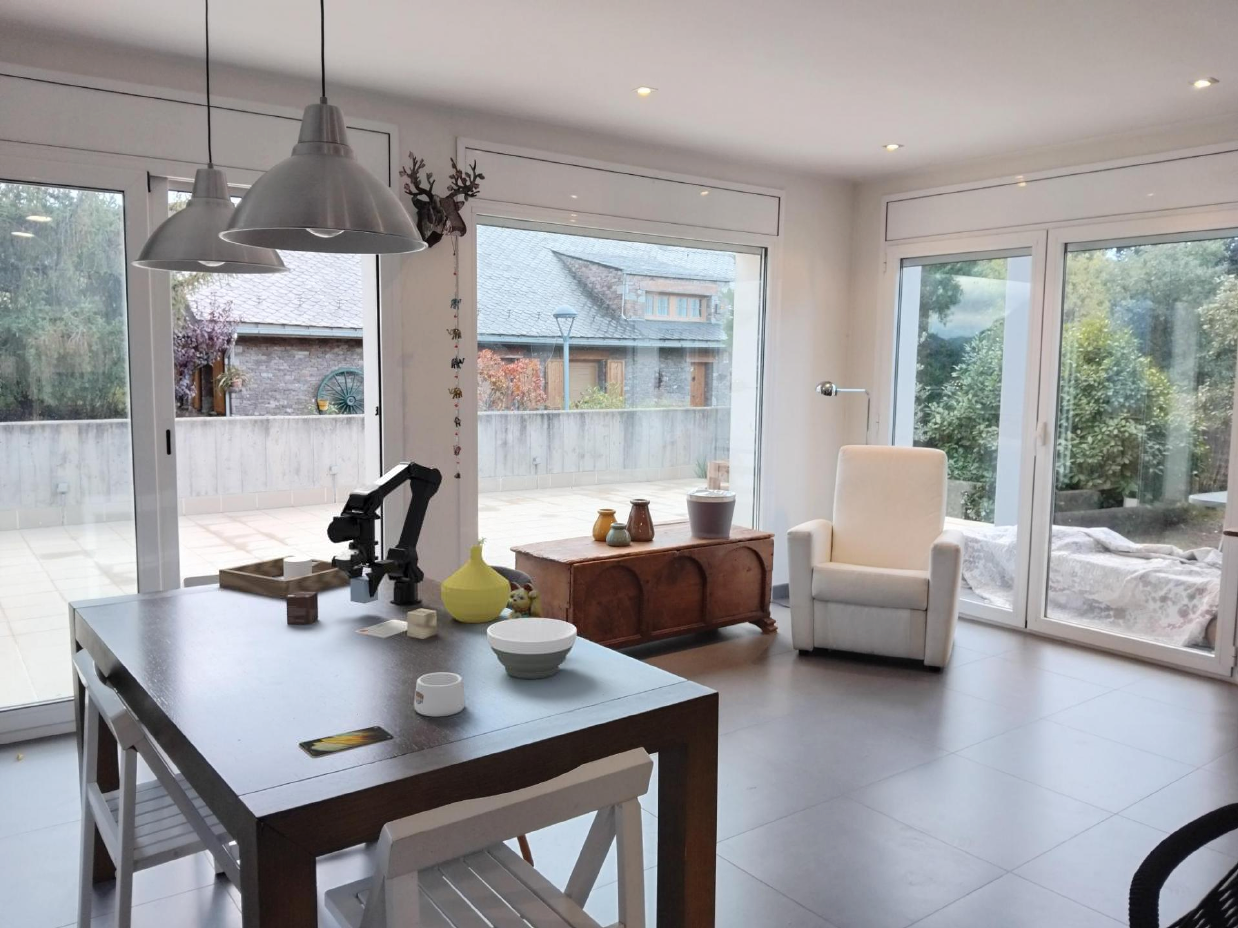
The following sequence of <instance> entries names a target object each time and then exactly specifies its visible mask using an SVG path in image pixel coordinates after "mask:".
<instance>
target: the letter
mask: <svg viewBox="0 0 1238 928" xmlns="http://www.w3.org/2000/svg"><path fill="white" fill-rule="evenodd" d="M406 631H407V621H403V620H399V619H390V620H387V621H383V622H381V623H377V624H374V625H370V626H367V627H364V628H361V629H358V630H355V631H353V632H354V633H359V634H363V635H368V636H373V637H378V638H383V639H385V638H388V637H390V636H394V635H397V634H400V633H404V632H406Z"/></svg>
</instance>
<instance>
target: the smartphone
mask: <svg viewBox="0 0 1238 928" xmlns="http://www.w3.org/2000/svg"><path fill="white" fill-rule="evenodd" d="M394 738H395V737H394V735H393V734H391V733H390V732H388V731H387V730H386V729H384V728H383V727H381V726H379V725H376V726H370V727H366V728H362V729H360V728H359V729H356V730H352V731H347V732H342V733H337V734H334V735H329V736H325V737H321V738H315V739H311V740H305V741H302V742H301V741H300V742H299V744H298V747H299V748H300V749H302V751H304V752H305V753H306V754H307V755H308V756H310V758H313V759H314V758H315V759H316V758H320V757H324V756H329V755H333V754H335V753H340V752H346V751H349V750H354V749H356V748H357V749H358V748H362V747H365V746H369V745H373V744H378V743H382V742H387V741H390V740H394Z"/></svg>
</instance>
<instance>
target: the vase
mask: <svg viewBox="0 0 1238 928" xmlns="http://www.w3.org/2000/svg"><path fill="white" fill-rule="evenodd" d="M482 552H483V549H482V546H479V545H477V546H475V545H474V546H470V555H469V556H470V557H469V560H467V562H466V563H465V564H464V565H463V566H462V567H461V568H459V569H457V570H456V571H455V572H454V573H453V574H451V575H450V576H449V577H447V578H446V579H444V581H442V583H441V586H440V596H441V600H442V602H443V605H444V608H445V610H446V611H448V613H449V615H450V616H451V617H453V618H454V619H456V620H457V621H459V622H462V623H466V624H467V623H468V624H480V623H481V624H482V623H488V622H492V621H494V620H496V619H497V618H498V617H499V616H500V615H501V614H502V613H503V612H504V610H505V609H506V607H507V606H508V604H509V602H508V599H509V596H510V594H511V592H512V590H511V587H510V581H509V580H508V579H507V578H506V577H504V576H503V575H501V573H499V572H497V571H496V570H495V569H494V568H492V567H491V566H490V565H489V564H487V563H486V562H485V560H484V559H483V554H482Z"/></svg>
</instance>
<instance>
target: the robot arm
mask: <svg viewBox="0 0 1238 928" xmlns="http://www.w3.org/2000/svg"><path fill="white" fill-rule="evenodd" d="M408 480H409V481H410V482H409V487H410V492H411V499H410V503H409V506H408V509H407V512H406V517H405V519H404V523H403V526H402V530H401V532H400V533H401V534H400V536H399V540H398V543H397V544H396V545H395V547H389V549H388V550H387V556H386V558H385V559H381V560H379V559H380V558H379V557H380V556H378V555H376V546H379V540H376V521H377V520H381V518H382V516H380V515H379V514H378V513H377V511H378V510H379V509H380V507H381V506H382V505H383V504H384V500H385V498H386V497H387V496H389V494H391V493H392V492H394V491H396V489H397V488H399V487H400V486H401V485H403V484H404V483H405V482H407V481H408ZM442 480H443V475H442V473H441V471H440V470H439V469H438V468H436V467H428V466H424V465H421V464H418V463H416V462H414V461H405V460H403V461H399V462H398V464H397V465H396V466H394V467H393V468H392V469H391V470H389V471H388V472H387V473H386V474H384V475H382V476H381V477H380V478H379V479H377V480H376V481H374V482H373V483H371V484H368V485H365V486H361V487H359V488H356V489H354V490H353V491H351V492H350V493H349V495H348V496H349V497H348V498H347V501H346V503H345V504H344V507H343V509H342V510H341V513H340V514H339V515H340V516H339V515H336V516H332V521H331V522H330V523H329V524H328V527H327V530H326V533H327V534H326V535H327V537H328V540H329V541H330V542H331V543H333V544H340V543H345V542H348V549H345V550H344V551H342V552H341V553H339V554H338V555H333V557H332V559H331V560H330V562H332V567H336V568H338V569H340V570H341V571H343V572H344V573H345V574H347V575H348V577H349V580H350V579H352V578H356V577H360V576H363V572H364V568H366V569H370V571H369V572H366V573H365V574H364V576H367V577H368V579H369V594H370V597H374V595H375V593H376V591H377V589H378V590H379V587H380V584H381V582H382V580H383V579H384V577H385V575H387V578H388V581H393V584H394V585H393V599H392V600H390V601H389V603H391V604H395V605H400V606H405V607H406V606H411V605H413V604H418V603H420V602H422V601H423V599H421V598H419V597H418V596H419V592H418V591H419V590H418V589H419V586H418V584H420V583H421V582H423V581H424V577H425V572H423V570H422V569H421V568H420V567H419V566H418V564H419V556H418V552H417V544H418V541H419V538H420V535H421V531H422V527H423V523H424V521H425V517H426V513H427V509H428V507H429V503H430V500H431V499H432V498H433V497H434V496H435V494H437V492H438V491H439V488H440V486H441V483H442Z"/></svg>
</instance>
